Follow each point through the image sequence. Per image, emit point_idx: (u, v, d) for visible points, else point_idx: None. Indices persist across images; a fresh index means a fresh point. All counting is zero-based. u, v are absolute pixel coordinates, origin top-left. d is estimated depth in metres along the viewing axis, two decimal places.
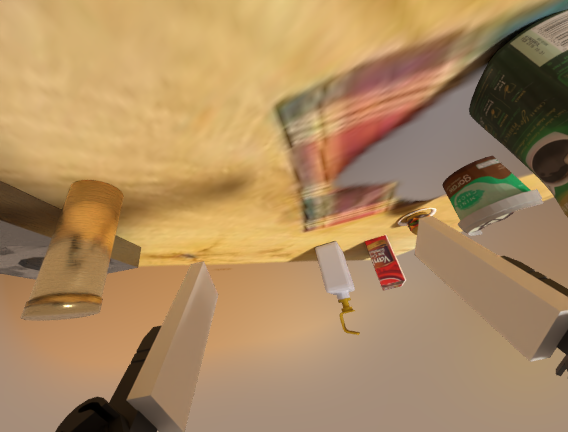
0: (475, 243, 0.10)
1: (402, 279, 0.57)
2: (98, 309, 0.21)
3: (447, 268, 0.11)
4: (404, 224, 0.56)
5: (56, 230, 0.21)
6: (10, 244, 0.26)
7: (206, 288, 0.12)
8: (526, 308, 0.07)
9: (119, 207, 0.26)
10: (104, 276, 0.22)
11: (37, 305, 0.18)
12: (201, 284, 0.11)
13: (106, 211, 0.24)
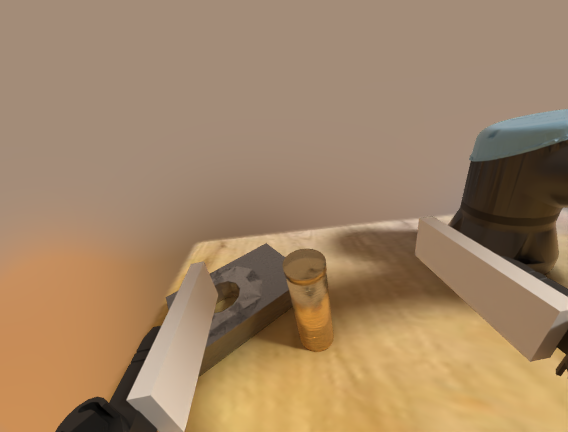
0: (474, 243, 0.10)
1: None
2: (310, 277, 0.23)
3: (447, 268, 0.11)
4: None
5: None
6: (264, 281, 0.38)
7: (206, 288, 0.12)
8: (526, 308, 0.07)
9: (321, 341, 0.28)
10: (313, 297, 0.24)
11: None
12: (201, 284, 0.11)
13: (329, 327, 0.28)
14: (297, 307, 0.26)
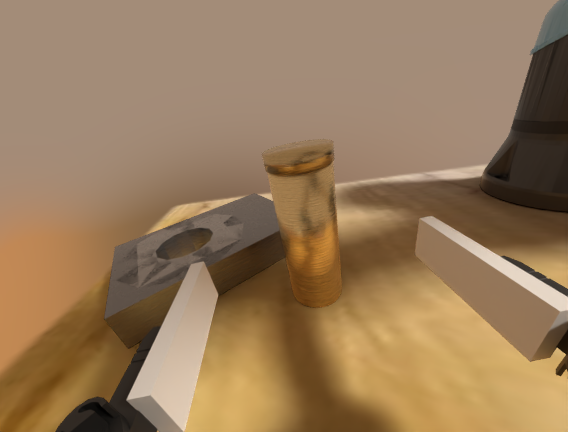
0: (475, 243, 0.10)
1: None
2: (306, 153, 0.13)
3: (447, 268, 0.11)
4: None
5: None
6: (247, 224, 0.28)
7: (206, 288, 0.12)
8: (526, 308, 0.07)
9: (324, 289, 0.18)
10: (312, 200, 0.15)
11: None
12: (201, 284, 0.11)
13: (336, 267, 0.18)
14: (286, 227, 0.16)
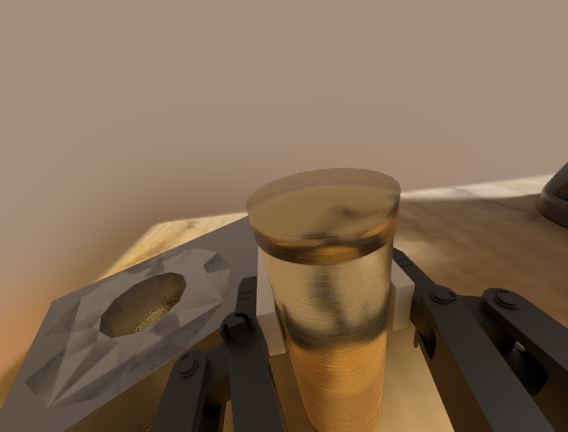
0: None
1: None
2: (351, 224, 0.05)
3: None
4: None
5: None
6: (235, 272, 0.20)
7: None
8: None
9: (359, 425, 0.11)
10: (354, 310, 0.07)
11: None
12: None
13: (381, 387, 0.11)
14: (295, 339, 0.08)
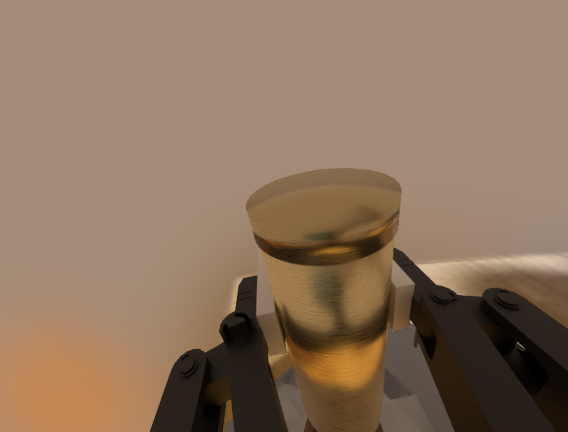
0: None
1: None
2: (352, 225, 0.05)
3: None
4: None
5: None
6: (425, 402, 0.19)
7: None
8: None
9: (360, 426, 0.10)
10: (354, 311, 0.07)
11: None
12: None
13: (382, 388, 0.11)
14: (295, 340, 0.08)
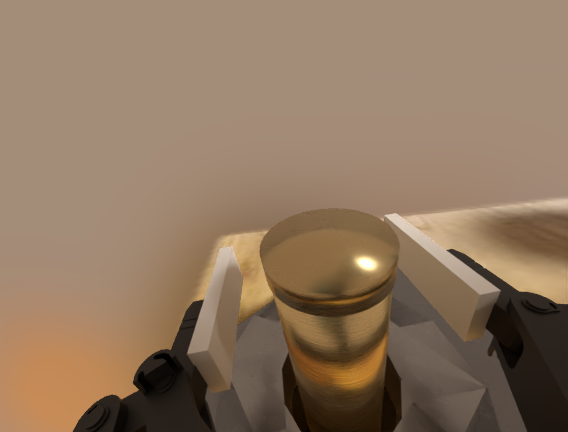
0: (427, 238, 0.11)
1: None
2: (357, 286, 0.06)
3: (405, 261, 0.12)
4: None
5: None
6: (447, 327, 0.14)
7: (235, 270, 0.13)
8: (459, 293, 0.08)
9: None
10: (357, 350, 0.08)
11: None
12: (231, 265, 0.12)
13: (381, 408, 0.11)
14: (302, 369, 0.09)
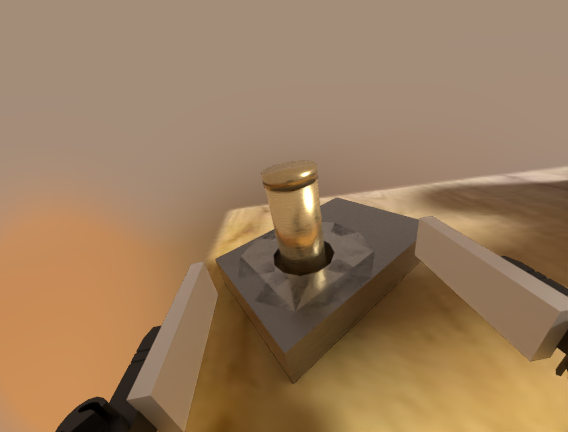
0: (474, 243, 0.10)
1: None
2: (295, 176, 0.17)
3: (447, 268, 0.11)
4: None
5: None
6: (365, 234, 0.25)
7: (206, 288, 0.12)
8: (526, 308, 0.07)
9: None
10: (300, 210, 0.19)
11: None
12: (201, 284, 0.11)
13: (322, 263, 0.23)
14: (280, 231, 0.20)
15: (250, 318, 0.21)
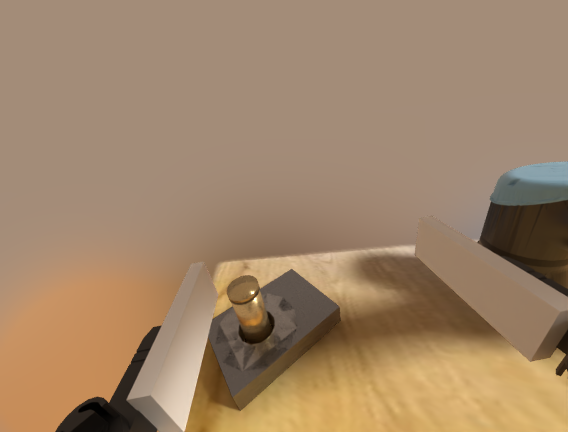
0: (475, 243, 0.10)
1: None
2: (242, 299, 0.32)
3: (447, 268, 0.11)
4: None
5: None
6: (297, 311, 0.40)
7: (206, 288, 0.12)
8: (526, 308, 0.07)
9: None
10: (248, 312, 0.34)
11: None
12: (201, 284, 0.11)
13: (266, 334, 0.38)
14: (239, 319, 0.35)
15: None
